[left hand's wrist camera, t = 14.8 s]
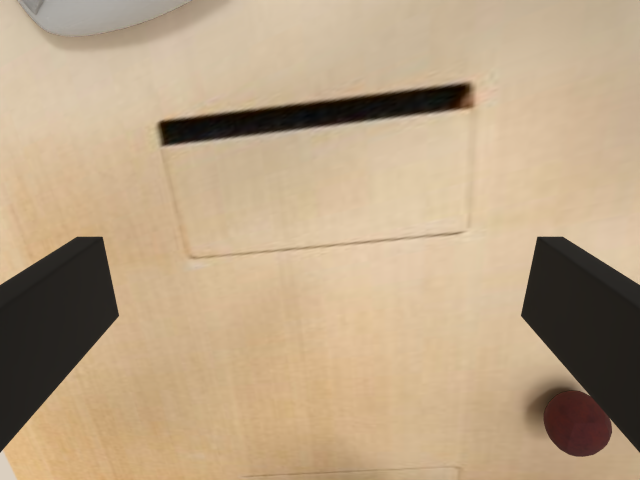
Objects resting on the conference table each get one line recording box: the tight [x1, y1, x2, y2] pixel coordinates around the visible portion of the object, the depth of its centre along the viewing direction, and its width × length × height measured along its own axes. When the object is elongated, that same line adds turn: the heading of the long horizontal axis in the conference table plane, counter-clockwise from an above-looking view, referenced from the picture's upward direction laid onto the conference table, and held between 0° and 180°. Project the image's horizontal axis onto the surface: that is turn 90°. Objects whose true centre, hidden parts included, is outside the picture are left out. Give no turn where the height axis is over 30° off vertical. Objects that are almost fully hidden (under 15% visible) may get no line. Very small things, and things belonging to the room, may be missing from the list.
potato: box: [544, 390, 612, 457], centre depth 51 cm, size 7×8×7 cm
